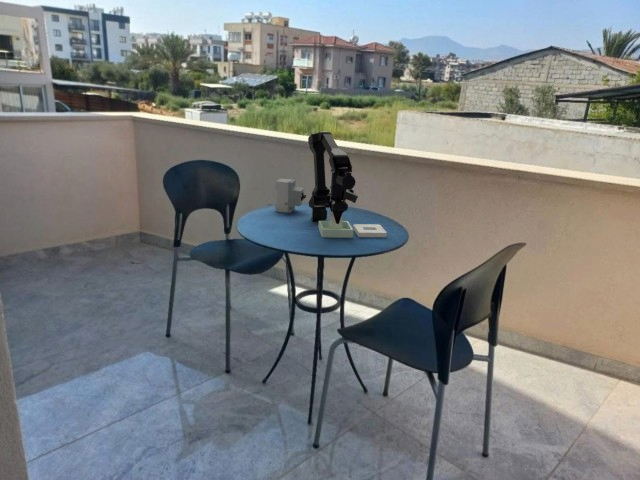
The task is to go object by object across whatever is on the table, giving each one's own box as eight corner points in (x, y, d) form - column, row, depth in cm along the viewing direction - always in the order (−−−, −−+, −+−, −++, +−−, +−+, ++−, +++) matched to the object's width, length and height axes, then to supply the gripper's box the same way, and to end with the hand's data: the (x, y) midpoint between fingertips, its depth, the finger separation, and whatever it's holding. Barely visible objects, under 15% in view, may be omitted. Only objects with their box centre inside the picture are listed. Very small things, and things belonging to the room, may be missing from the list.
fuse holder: (358, 237, 184) (358, 232, 184) (353, 228, 196) (353, 224, 195) (386, 237, 186) (386, 232, 185) (379, 228, 197) (379, 224, 196)
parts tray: (322, 237, 182) (322, 229, 181) (318, 227, 194) (318, 220, 193) (352, 237, 184) (353, 230, 182) (347, 228, 196) (347, 221, 195)
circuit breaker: (303, 214, 215) (304, 183, 210) (274, 211, 217) (275, 181, 212) (306, 210, 222) (307, 180, 217) (279, 207, 224) (279, 178, 219)
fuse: (329, 231, 187) (330, 213, 184) (328, 229, 190) (329, 211, 187) (341, 231, 188) (342, 213, 185) (340, 229, 190) (341, 211, 188)
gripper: (361, 189, 174) (358, 227, 179) (352, 180, 192) (350, 215, 197) (334, 189, 173) (331, 227, 178) (327, 179, 190) (325, 214, 196)
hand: (335, 220), depth 187 cm, fingers open, 9 cm apart
